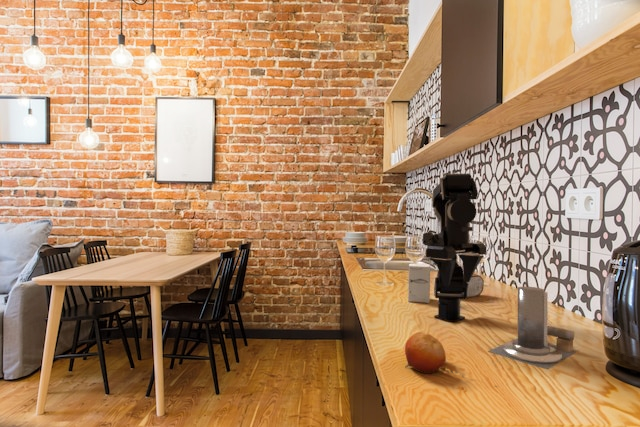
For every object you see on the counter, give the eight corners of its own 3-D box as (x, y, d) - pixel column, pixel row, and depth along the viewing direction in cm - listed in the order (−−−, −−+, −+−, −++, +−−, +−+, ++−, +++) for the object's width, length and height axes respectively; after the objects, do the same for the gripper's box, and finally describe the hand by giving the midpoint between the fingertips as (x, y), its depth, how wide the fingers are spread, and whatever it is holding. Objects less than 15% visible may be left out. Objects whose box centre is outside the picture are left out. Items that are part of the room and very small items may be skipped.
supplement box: (407, 302, 135) (407, 265, 134) (409, 297, 142) (409, 262, 142) (429, 303, 132) (429, 266, 132) (430, 298, 139) (430, 263, 139)
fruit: (407, 349, 84) (425, 321, 82) (437, 376, 80) (457, 348, 77) (388, 360, 78) (407, 331, 75) (420, 390, 74) (441, 360, 71)
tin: (478, 294, 147) (478, 272, 147) (485, 296, 144) (485, 273, 144) (449, 298, 140) (449, 275, 140) (456, 300, 137) (456, 276, 137)
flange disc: (517, 341, 90) (517, 338, 90) (570, 355, 81) (570, 351, 81) (493, 352, 83) (493, 348, 83) (548, 368, 75) (548, 364, 75)
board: (521, 341, 94) (521, 336, 94) (578, 355, 84) (578, 350, 84) (487, 356, 84) (487, 351, 84) (547, 375, 74) (547, 369, 74)
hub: (513, 342, 87) (513, 284, 87) (549, 347, 84) (549, 287, 84) (511, 351, 81) (511, 290, 81) (549, 358, 78) (550, 293, 78)
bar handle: (517, 339, 91) (517, 320, 91) (522, 337, 93) (522, 318, 93) (570, 353, 83) (570, 332, 83) (574, 350, 84) (574, 330, 84)
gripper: (450, 221, 110) (450, 276, 111) (408, 222, 99) (408, 283, 99) (487, 222, 102) (487, 281, 102) (446, 223, 90) (446, 290, 90)
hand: (456, 284), depth 98 cm, fingers open, 9 cm apart
